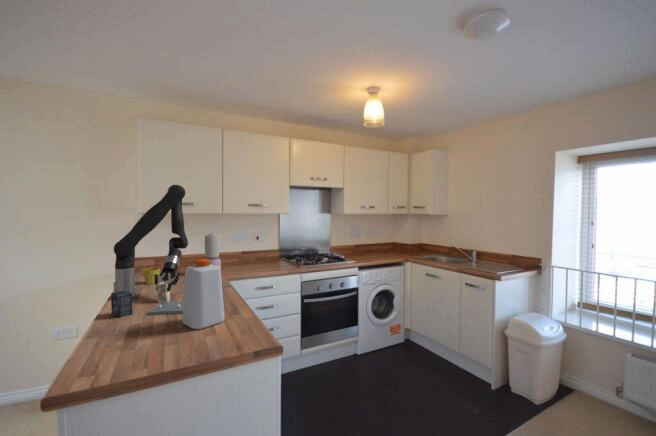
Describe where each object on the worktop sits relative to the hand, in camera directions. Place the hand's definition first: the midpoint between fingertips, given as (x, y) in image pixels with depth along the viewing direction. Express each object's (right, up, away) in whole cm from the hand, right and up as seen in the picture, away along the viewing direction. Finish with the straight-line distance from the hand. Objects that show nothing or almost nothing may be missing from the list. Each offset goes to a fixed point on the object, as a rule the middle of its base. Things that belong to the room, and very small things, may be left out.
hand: (162, 290), depth 164 cm
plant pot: (-31, -5, +42) cm, 53 cm away
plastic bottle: (+35, -7, -30) cm, 46 cm away
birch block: (0, -6, +2) cm, 6 cm away
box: (-9, -7, -20) cm, 23 cm away
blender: (+1, -4, +71) cm, 71 cm away
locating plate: (+11, -6, -11) cm, 17 cm away
